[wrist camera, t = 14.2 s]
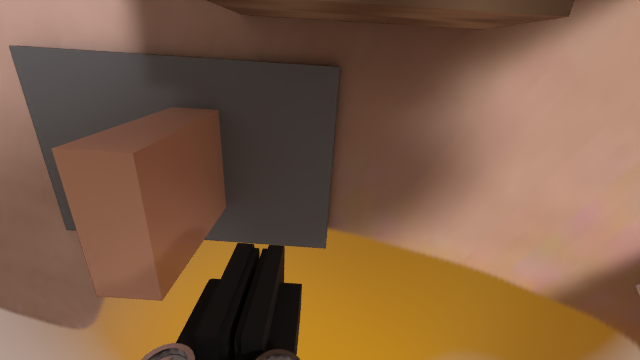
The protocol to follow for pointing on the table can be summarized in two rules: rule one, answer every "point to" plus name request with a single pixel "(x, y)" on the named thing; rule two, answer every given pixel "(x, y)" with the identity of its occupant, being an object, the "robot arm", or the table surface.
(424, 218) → the table surface
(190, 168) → the block
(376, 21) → the open wooden box
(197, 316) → the robot arm
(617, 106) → the table surface
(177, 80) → the mat
